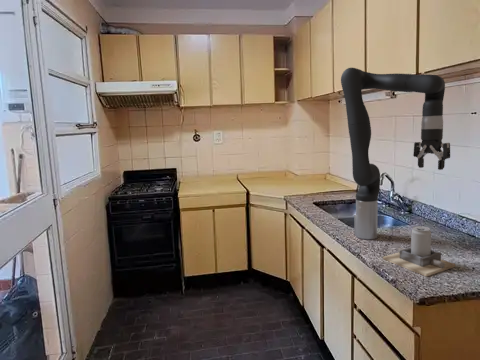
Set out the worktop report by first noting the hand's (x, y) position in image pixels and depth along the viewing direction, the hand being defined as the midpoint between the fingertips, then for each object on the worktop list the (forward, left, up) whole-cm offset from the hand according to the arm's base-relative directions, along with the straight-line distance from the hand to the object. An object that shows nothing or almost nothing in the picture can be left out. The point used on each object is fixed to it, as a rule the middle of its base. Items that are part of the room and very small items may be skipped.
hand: (430, 168), depth 140 cm
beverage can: (+10, -18, -31) cm, 37 cm away
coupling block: (+10, -19, -32) cm, 39 cm away
